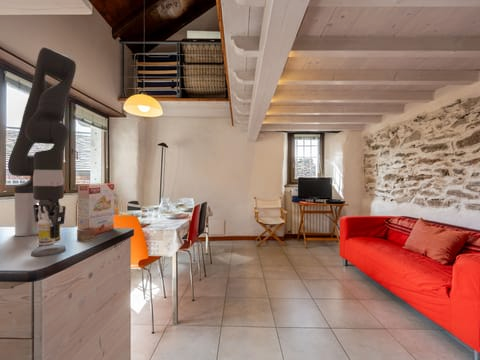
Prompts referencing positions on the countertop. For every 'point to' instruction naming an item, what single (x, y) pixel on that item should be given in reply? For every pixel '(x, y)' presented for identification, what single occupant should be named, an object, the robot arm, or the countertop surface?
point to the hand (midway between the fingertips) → (49, 236)
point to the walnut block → (85, 234)
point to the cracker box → (96, 207)
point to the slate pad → (48, 250)
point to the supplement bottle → (46, 231)
